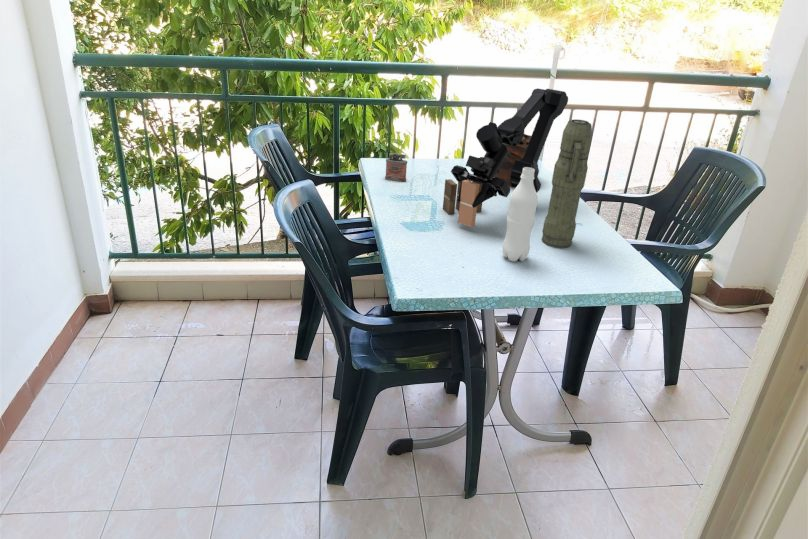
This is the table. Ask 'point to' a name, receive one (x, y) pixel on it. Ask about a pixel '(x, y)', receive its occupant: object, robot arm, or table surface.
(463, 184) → the end tile
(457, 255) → the table surface
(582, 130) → the thermos
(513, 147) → the case
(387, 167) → the lighter
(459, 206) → the tile
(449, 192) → the tile
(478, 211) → the tile
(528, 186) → the water bottle
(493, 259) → the table surface
